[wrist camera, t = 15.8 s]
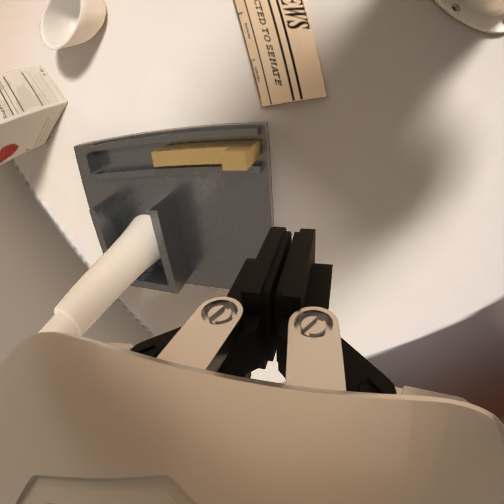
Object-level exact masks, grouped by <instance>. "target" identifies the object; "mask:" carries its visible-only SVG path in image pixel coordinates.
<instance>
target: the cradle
mask: <svg viewBox="0 0 504 504" xmlns="http://www.w3.org/2000/svg"><path fill="white" fill-rule="evenodd" d="M233 140H260V142H261V156H260V157H259V158H258V159H257V160H256V161H255V162H254V163H253V164H252V165H251V167H250V168H249V169H248V170H247V171H223V168H222V164H200V165H178V166H160V167H154V165H153V160H152V154H151V152H153V151H155V150H157V149H159V148H161V147H163V146H165V145H172V144H183V143H197V142H212V141H233ZM74 150H75V154H76V159H77V163H78V167H79V171H80V175H81V179H82V183H83V187H84V190H85V194H86V197H87V201H88V204H89V208H90V210H89V211H90V214H91V218H92V221H93V224H94V227H95V230H96V233H97V236H98V239H99V242H100V245H101V248H102V251H103V254H104V253H105V252H106V251H107V250H108V249H109V248H110V247H111V246H112V245H113V243H114V242H115V241H116V240H117V239H118V238H119V237H120V236H121V234H122V233H123V232H124V231H125V230H126V228H127V227H128V226H129V225H130V223H131V222H132V220H133V219H134V218H135V217H137V216H139V215H144V214H145V215H150V217H151V222H152V226H153V230H154V234H155V238H156V241H157V245H158V249H159V253H160V256H161V258H160V259H159V260H158V261H156V262H155V263H154V264H153V265H151V266H150V267H149V268H148V269H147V270H145V271H144V272H143V273H142V274H141V275H140V276H139V277H138V278H137V279H136V280H135V281H134V282H133V283H132V284H131V286H137V287H143V288H149V289H154V290H160V291H166V292H173V293H179V291H180V290H181V288H182V287H183V286H184V284H185V283H187V284H195V285H202V286H210V287H217V288H225V289H231V287H232V285H233V283H234V281H235V280H236V278H237V276H238V274H239V272H240V270H241V268H242V266H243V264H244V262H245V260H246V259H247V258H255V259H256V257H257V255H258V253H259V251H260V249H261V247H262V244H263V242H264V240H265V238H266V236H267V234H268V232H269V230H270V228H271V227H274V217H273V198H272V181H271V165H270V149H269V135H268V122H250V123H230V124H215V125H203V126H192V127H182V128H173V129H165V130H157V131H150V132H143V133H137V134H130V135H124V136H119V137H113V138H108V139H102V140H97V141H92V142H88V143H83V144H79V145H76V146H74Z"/></svg>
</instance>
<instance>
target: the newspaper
mask: <svg viewBox="0 0 504 504" xmlns="http://www.w3.org/2000/svg"><path fill="white" fill-rule="evenodd" d="M235 3H236V7H237V10H238V14H239V17H240V21H241V25H242V28H243V32H244V36H245V40H246V43H247V47H248V51H249V55H250V59H251V63H252V67H253V71H254V75H255V79H256V83H257V87H258V91H259V95H260V99H261V103H262V107H263V106H269V105H275V104H281V103H287V102H294V101H300V100H307V99H314V98H320V97H327V95H326V90H325V85H324V80H323V76H322V71H321V67H320V62H319V58H318V54H317V50H316V45H315V41H314V37H313V34H312V30H311V26H310V22H309V19H308V15H307V11H306V8H305V5H304V1H303V0H235Z"/></svg>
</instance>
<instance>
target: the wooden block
mask: <svg viewBox="0 0 504 504" xmlns="http://www.w3.org/2000/svg"><path fill="white" fill-rule="evenodd" d="M151 154H152V160H153V165H154V167H160V166H178V165H200V164H222V168H223V171H247V170H248V169H249V168H250V167H251V165H252V164H253V163H254V162H255V161H256V160H257V159H258V158H259V157H260V156H261V142H260V140H233V141H212V142H197V143H183V144H172V145H165V146H163V147H161V148H159V149H157V150H155V151H153V152H151Z"/></svg>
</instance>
